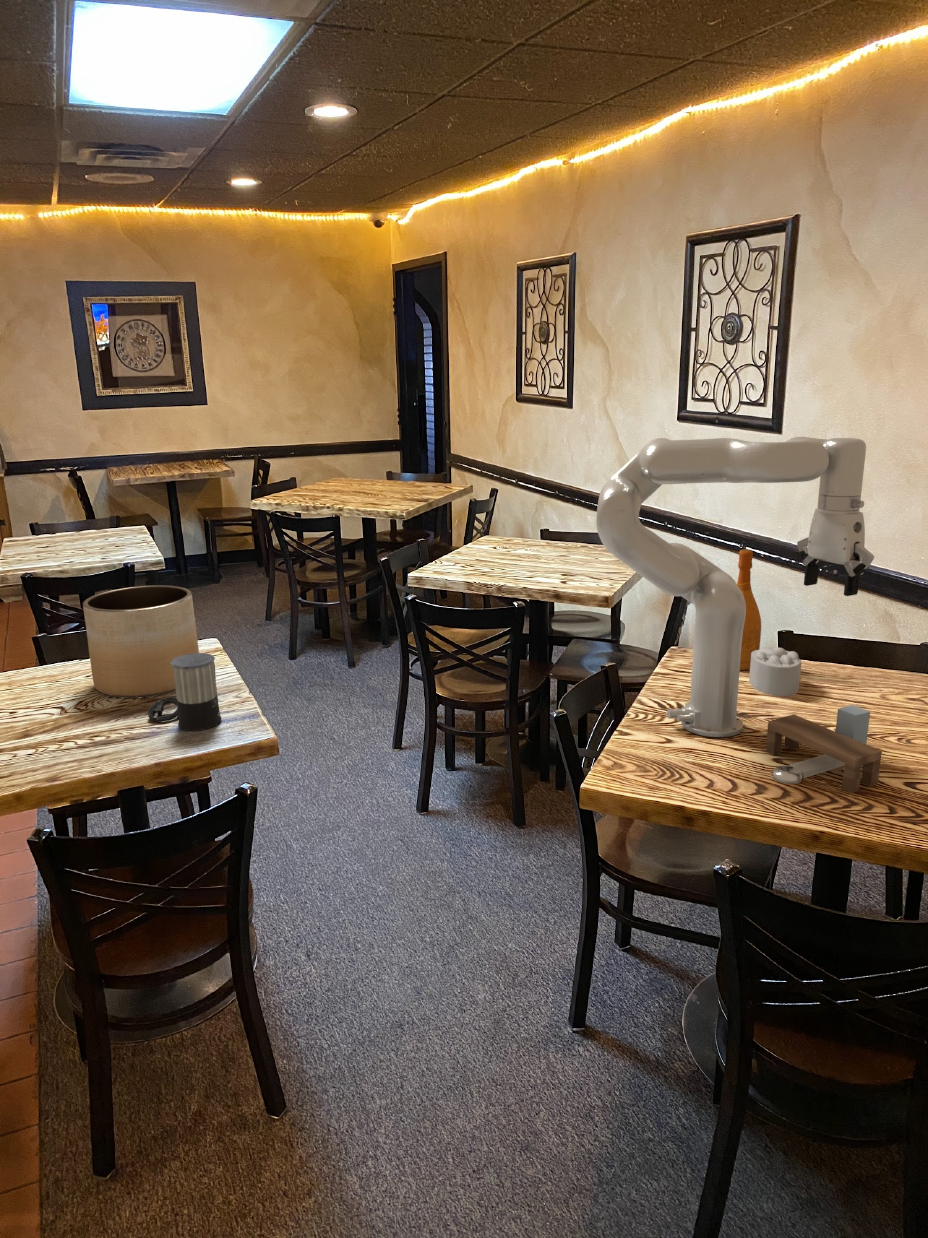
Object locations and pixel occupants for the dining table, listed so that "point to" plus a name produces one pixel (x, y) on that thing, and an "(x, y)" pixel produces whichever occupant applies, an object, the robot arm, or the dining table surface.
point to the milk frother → (192, 693)
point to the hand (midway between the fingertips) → (830, 589)
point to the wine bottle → (748, 611)
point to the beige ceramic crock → (139, 638)
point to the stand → (827, 748)
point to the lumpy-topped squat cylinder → (775, 671)
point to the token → (787, 774)
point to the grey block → (848, 724)
